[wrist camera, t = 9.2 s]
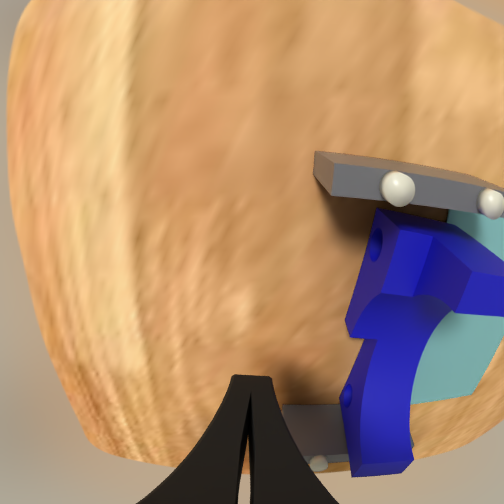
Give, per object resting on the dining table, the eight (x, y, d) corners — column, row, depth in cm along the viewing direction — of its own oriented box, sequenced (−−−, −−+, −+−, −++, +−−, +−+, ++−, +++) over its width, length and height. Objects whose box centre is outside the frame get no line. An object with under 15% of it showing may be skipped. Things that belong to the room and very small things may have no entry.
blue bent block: (376, 207, 14) (434, 264, 8) (455, 225, 13) (527, 280, 8) (316, 396, 18) (324, 477, 13) (381, 398, 18) (401, 473, 13)
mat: (546, 204, 13) (547, 204, 12) (471, 393, 18) (471, 394, 18) (453, 181, 13) (454, 182, 13) (383, 406, 19) (383, 407, 19)
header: (470, 175, 13) (530, 200, 8) (393, 409, 19) (410, 461, 15) (314, 150, 13) (338, 165, 8) (281, 413, 19) (282, 472, 15)
